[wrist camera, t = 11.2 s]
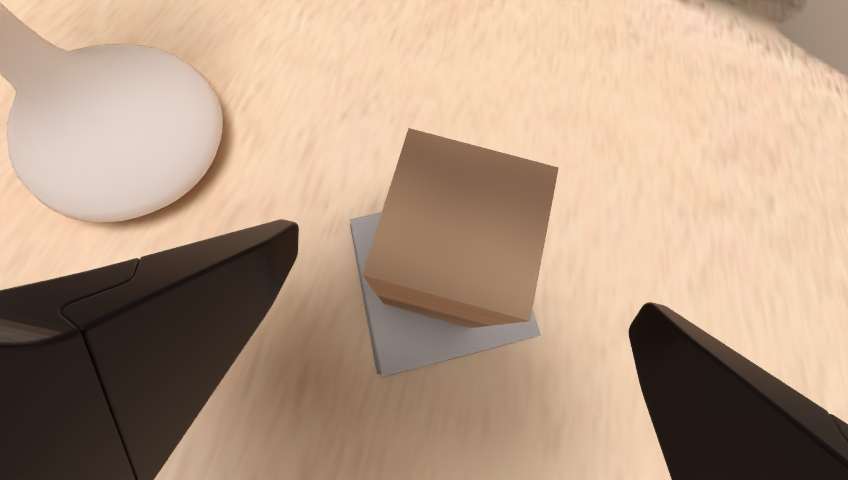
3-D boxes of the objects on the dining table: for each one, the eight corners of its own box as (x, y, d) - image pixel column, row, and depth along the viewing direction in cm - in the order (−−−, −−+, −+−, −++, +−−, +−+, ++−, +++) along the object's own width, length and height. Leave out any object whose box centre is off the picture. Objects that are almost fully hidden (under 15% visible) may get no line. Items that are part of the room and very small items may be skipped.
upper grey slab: (383, 375, 20) (382, 377, 19) (352, 224, 22) (350, 219, 21) (534, 335, 21) (540, 335, 20) (491, 195, 23) (495, 188, 22)
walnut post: (471, 328, 20) (529, 321, 10) (383, 304, 20) (362, 275, 11) (490, 243, 21) (558, 167, 12) (408, 221, 21) (408, 128, 12)
